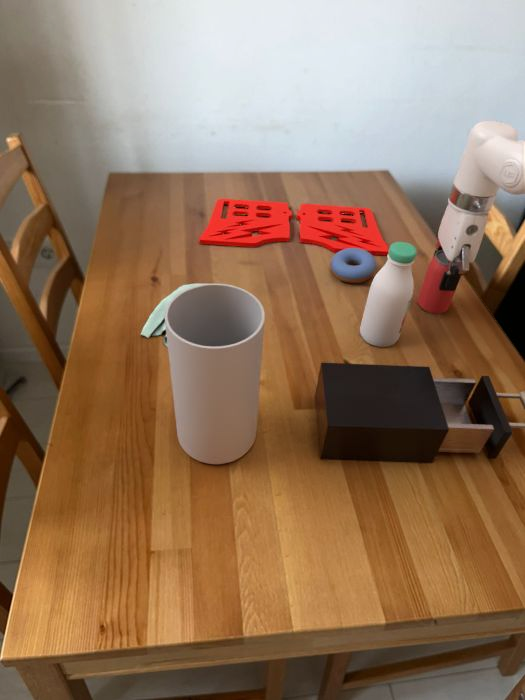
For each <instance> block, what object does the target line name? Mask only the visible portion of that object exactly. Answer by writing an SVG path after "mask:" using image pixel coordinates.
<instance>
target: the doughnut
mask: <svg viewBox="0 0 525 700" xmlns="http://www.w3.org/2000/svg"><path fill="white" fill-rule="evenodd" d="M330 270H331V272H332V274H333V276H334V277H335V278H337V279H338V280H340V281H342V282H345V283H348V284H359V283H364V282H366V281H367V280H370V279H371V278H372V277H373V276H374V275H375V272H376V270H377V262H376V258H375V257H374V255H372V254H370V253H369V252H367V251H365V250H363V249H359V248H347V249H343V250H341V251H339V252H335V254H334V255H333V256H332V258H331V261H330Z"/></svg>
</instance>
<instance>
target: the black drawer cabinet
mask: <svg viewBox="0 0 525 700" xmlns="http://www.w3.org/2000/svg"><path fill="white" fill-rule="evenodd" d="M317 377H318V378H317V383H316V386H315V387H316V388H315V394H314V405H315V407H314V408H315V418H316V427H317V428H316V430H317V440H318V451H319V460H327V461H328V460H329V461H330V460H332V461H360V462H361V461H362V462H386V463H387V462H390V463H391V462H392V463H419V464H420V463H421V464H433V463H434V461H435V459H436V456H437V455H438V453H439V452H438V451H439V449H440V447H441V445H442V443H443V441H444V439H445V437H446V435H447V433H448V431H449V428H448V425H447V422H446V419H445V415H444V412H443V409H442V406H441V403H440V399H439V396H438V393H437V390H436V387H435V384H434V380H433V378H434V377H433V374H432V371H431V368H430V366H419V365H418V366H417V365H416V366H415V365H396V364H395V365H394V364H393V365H391V364H365V363H343V362H320V367H319V373H318V376H317Z"/></svg>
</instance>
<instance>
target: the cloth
mask: <svg viewBox="0 0 525 700" xmlns="http://www.w3.org/2000/svg"><path fill="white" fill-rule="evenodd" d="M203 284H209V283H190V284H189V283H188V284H182V285H181V286H178V287H177V289H175V290H173V291H172V292H171V293H170V294H169V295H168V296H166V297H165V298H163V299H161V301H159V303H158V304H157V306H156V307H155V308H154V310H153V311H152V312H151V314H150V315H149V317H148V318H147V320H146V322H145V324H144V326H143V328H142V330H141V332H140V336H142V337H146V338H147V339H150V337H158V336H162V334H163V332H164V331H166V325H165V310H166V307H167V305H168V304H169V302H170V301H171V300H172V299H173V298H174V297H175V296H176V295H177V294H179V293H180V292H182V291H184V290H186V289H188V288H191V287H194V286H198V285H203ZM163 344H164V346H165V347H166V348H168V344H167V335H166V334H165V335H164V338H163Z"/></svg>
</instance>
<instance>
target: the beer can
mask: <svg viewBox="0 0 525 700" xmlns="http://www.w3.org/2000/svg"><path fill="white" fill-rule="evenodd" d="M433 256H434V255H433ZM433 256H432V258H431V259H430V261H429V263H428V266H427V270H426V273H425V275H424V278H423V281H422V284H421V287H420V290H419V293H418V296H417V304H418V306H419V307H420V308H421V309H422V310H423V311H425V312H427V313H430V314H435V315H438V314H442V313H445V312H447V311H448V310H449V308H450V306H451V303H452V300H453V297H454V295H455V293H456V290H455V291H443V290H440V289H439V286H440V283H441V280H442V277H443V275H444V272H447V267H448V261H449V260H448V259H447V257H446V255H445V253H444V251H443V250H441V251H438V252H436V254H435V256H434V257H433ZM454 258H455V257H454ZM456 259H460V256H457V257H456ZM459 264H460V263H457V262H453V268H455V267H458V266H459ZM453 268H452V269H453ZM461 278H462V276H461V277H460V279H461ZM459 283H460V281H459V282H458V284H459ZM457 288H458V286H457V287H456V289H457Z"/></svg>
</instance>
